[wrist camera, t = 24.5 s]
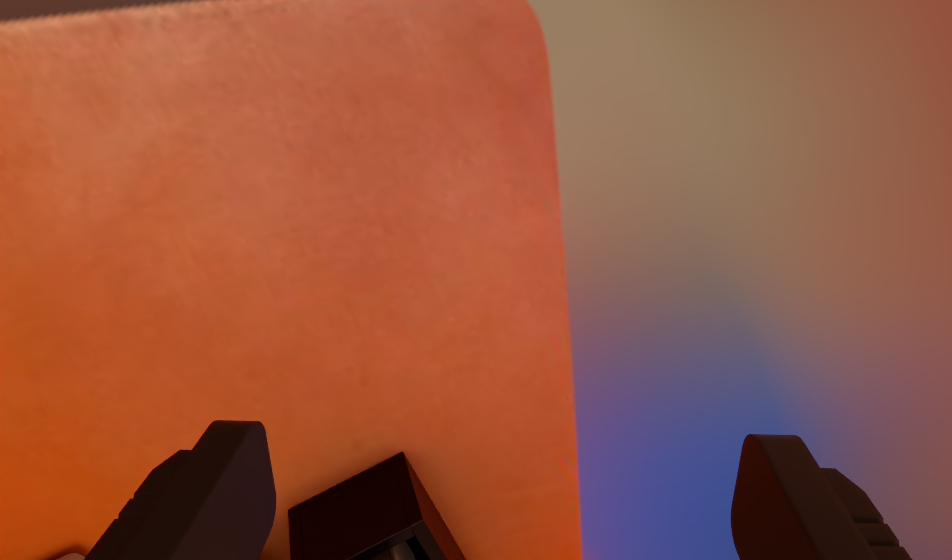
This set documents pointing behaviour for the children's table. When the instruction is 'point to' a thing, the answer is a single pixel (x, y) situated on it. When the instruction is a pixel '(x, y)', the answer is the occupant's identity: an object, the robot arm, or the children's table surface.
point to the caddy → (371, 518)
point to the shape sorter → (72, 557)
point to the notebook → (396, 553)
